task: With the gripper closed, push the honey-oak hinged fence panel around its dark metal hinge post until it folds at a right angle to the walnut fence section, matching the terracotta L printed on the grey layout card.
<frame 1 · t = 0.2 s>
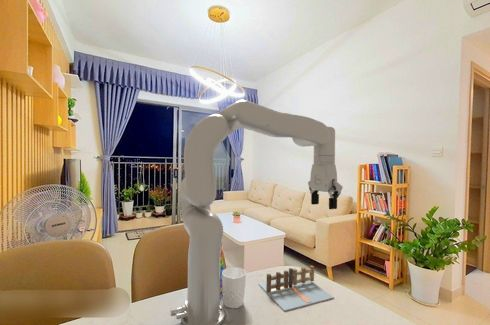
hand: (323, 206, 91), 30 cm above the table, fingers open, 9 cm apart
layout card: (294, 291, 89), on the table
white cup: (233, 303, 81), on the table
stacking toy: (215, 289, 90), on the table
fence fixed: (290, 287, 91), resting on layout card
fence fold: (303, 275, 93), point 4 cm above the table, hinge at 0.0°
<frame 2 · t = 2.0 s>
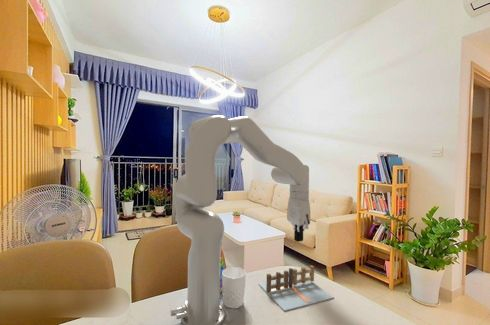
hand: (298, 240, 99), 15 cm above the table, fingers closed
nothing on the table moved.
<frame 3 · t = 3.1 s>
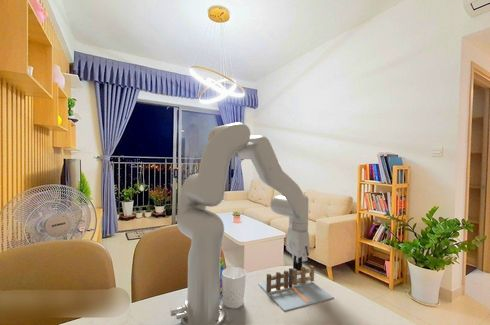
hand: (297, 271, 99), 3 cm above the table, fingers closed
nothing on the table moved.
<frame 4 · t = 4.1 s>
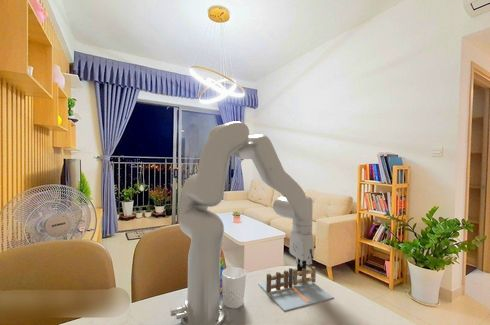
hand: (301, 274, 96), 3 cm above the table, fingers closed
fence fold: (304, 275, 93), point 4 cm above the table, hinge at -5.7°, touching gripper
everything else where it was.
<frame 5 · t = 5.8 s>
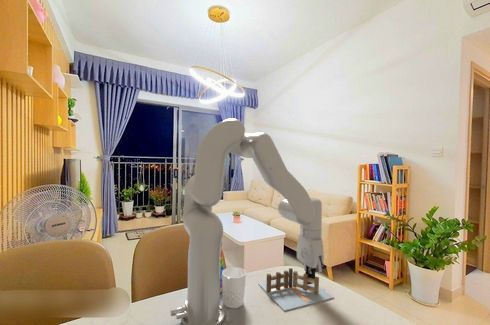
hand: (310, 282, 90), 3 cm above the table, fingers closed
fence fold: (305, 282, 88), point 4 cm above the table, hinge at -57.2°, touching gripper
everything else where it was.
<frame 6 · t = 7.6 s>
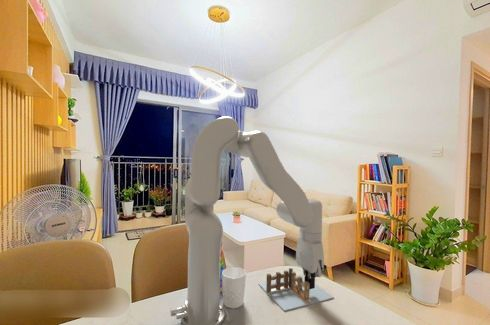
hand: (309, 287, 86), 3 cm above the table, fingers closed
fence fold: (299, 285, 86), point 4 cm above the table, hinge at -90.5°
everything else where it was.
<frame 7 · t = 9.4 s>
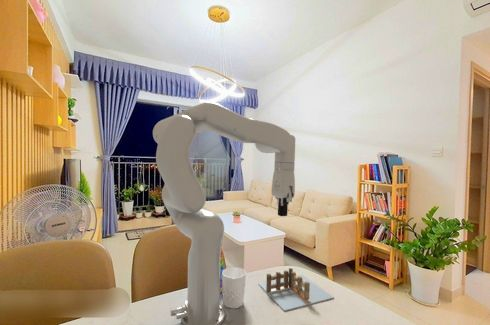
hand: (282, 215, 93), 26 cm above the table, fingers closed
nothing on the table moved.
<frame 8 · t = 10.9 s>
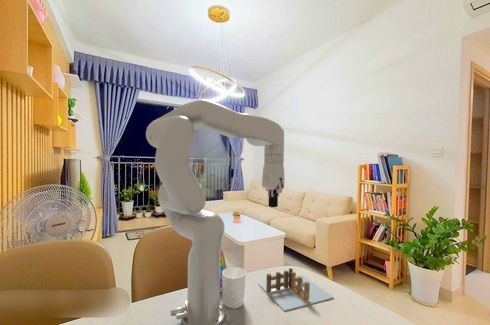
hand: (273, 206, 96), 29 cm above the table, fingers closed
nothing on the table moved.
at the end: fence fold at -90° (first picture: +0°); white cup tilted 0° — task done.
